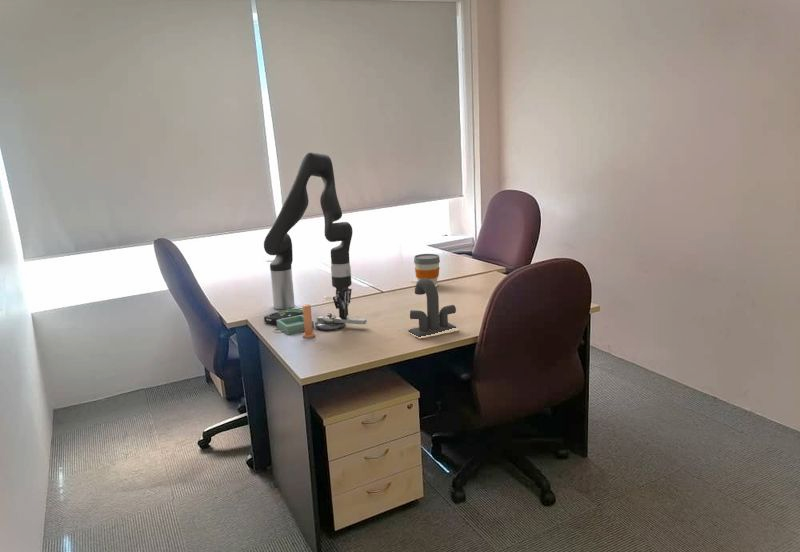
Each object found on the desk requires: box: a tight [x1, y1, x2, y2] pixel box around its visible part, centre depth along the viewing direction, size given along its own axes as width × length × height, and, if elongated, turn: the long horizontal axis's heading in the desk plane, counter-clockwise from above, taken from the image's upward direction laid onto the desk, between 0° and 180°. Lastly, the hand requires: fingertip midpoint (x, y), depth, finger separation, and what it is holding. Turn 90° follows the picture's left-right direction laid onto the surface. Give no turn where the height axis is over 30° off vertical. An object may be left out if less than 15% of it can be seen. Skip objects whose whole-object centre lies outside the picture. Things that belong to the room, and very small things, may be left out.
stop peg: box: [302, 304, 316, 339], centre depth 219 cm, size 4×4×12 cm
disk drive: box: [263, 308, 303, 326], centre depth 240 cm, size 10×3×15 cm
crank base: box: [314, 320, 347, 332], centre depth 231 cm, size 12×12×2 cm
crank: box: [316, 303, 367, 325], centre depth 228 cm, size 20×5×8 cm, turn 73°
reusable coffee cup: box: [413, 253, 441, 285], centre depth 283 cm, size 12×13×15 cm
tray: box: [276, 315, 315, 335], centre depth 230 cm, size 11×11×3 cm
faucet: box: [407, 278, 457, 337], centre depth 220 cm, size 18×16×20 cm
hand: (343, 316), depth 228 cm, fingers closed on crank, 2 cm apart
